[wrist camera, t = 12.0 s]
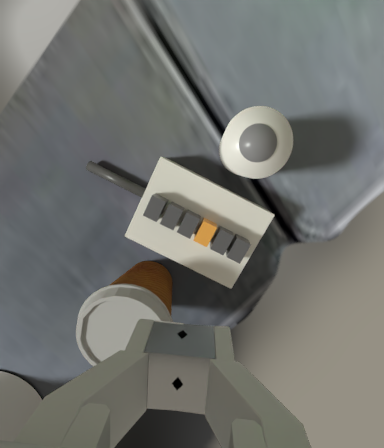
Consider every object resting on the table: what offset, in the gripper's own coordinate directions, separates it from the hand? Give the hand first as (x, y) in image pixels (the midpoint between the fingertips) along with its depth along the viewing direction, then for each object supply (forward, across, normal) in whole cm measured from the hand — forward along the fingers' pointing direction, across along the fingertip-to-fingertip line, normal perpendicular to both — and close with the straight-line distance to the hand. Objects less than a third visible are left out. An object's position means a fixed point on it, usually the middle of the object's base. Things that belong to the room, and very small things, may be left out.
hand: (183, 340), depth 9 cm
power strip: (+25, +4, -1) cm, 25 cm away
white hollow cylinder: (+25, -5, -8) cm, 27 cm away
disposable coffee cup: (+25, +6, +10) cm, 28 cm away
